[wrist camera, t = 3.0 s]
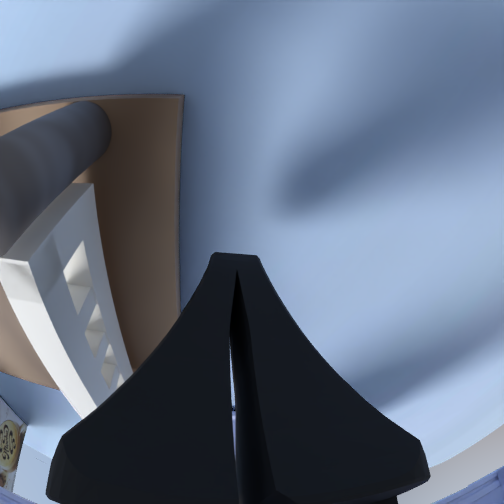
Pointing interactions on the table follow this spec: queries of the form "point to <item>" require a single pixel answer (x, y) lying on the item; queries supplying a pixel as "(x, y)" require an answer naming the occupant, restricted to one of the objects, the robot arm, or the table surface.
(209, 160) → the table surface
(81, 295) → the gate
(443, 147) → the table surface
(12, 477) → the coffee box
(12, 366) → the board
